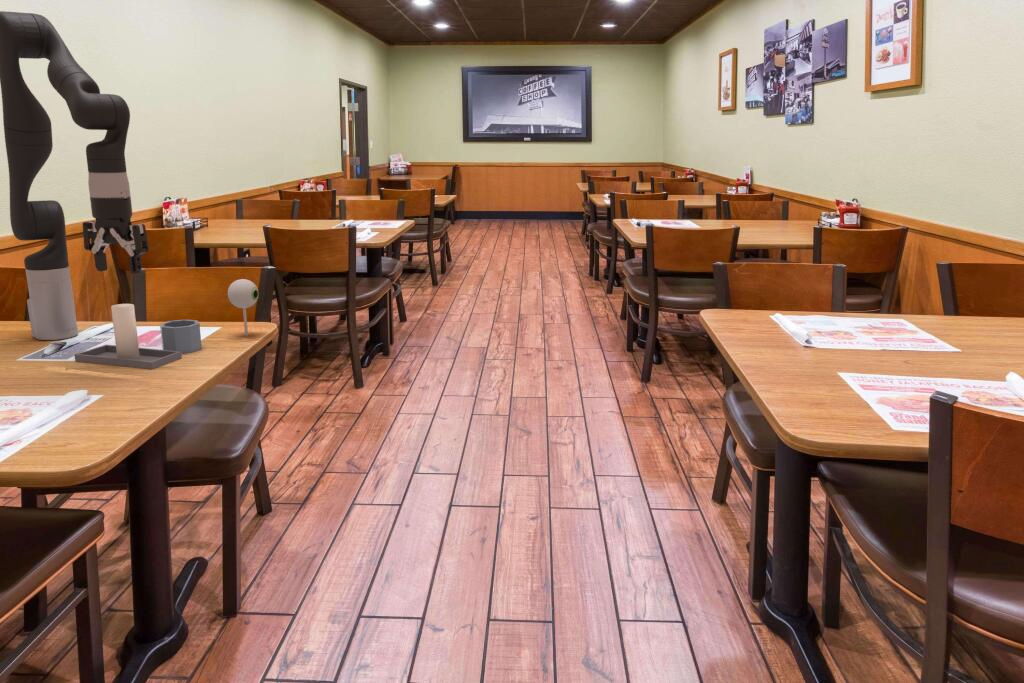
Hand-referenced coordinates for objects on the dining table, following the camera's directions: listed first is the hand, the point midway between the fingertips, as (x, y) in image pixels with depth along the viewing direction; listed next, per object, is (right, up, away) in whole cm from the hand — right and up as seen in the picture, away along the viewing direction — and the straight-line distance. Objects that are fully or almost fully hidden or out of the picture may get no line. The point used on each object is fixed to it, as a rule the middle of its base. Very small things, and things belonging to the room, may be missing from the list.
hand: (119, 272), depth 164 cm
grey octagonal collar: (+8, -17, +14) cm, 24 cm away
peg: (0, -19, +5) cm, 19 cm away
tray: (0, -20, +5) cm, 20 cm away
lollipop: (+18, -14, +27) cm, 36 cm away
